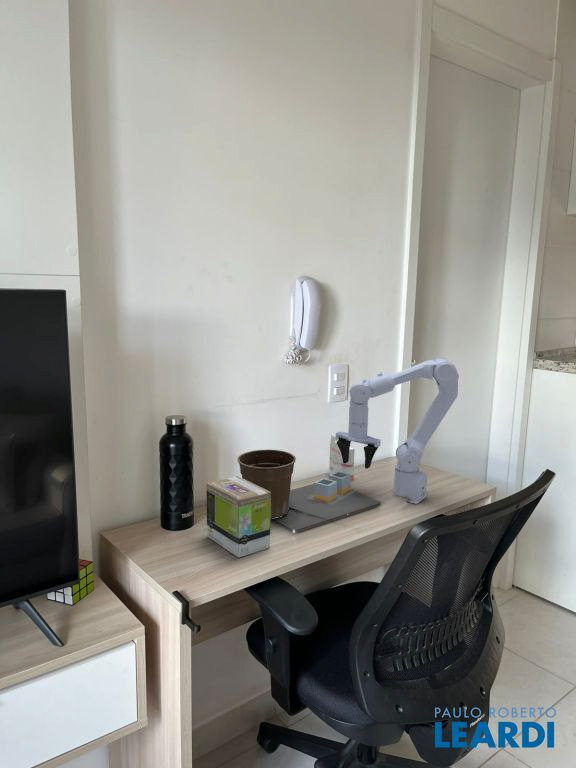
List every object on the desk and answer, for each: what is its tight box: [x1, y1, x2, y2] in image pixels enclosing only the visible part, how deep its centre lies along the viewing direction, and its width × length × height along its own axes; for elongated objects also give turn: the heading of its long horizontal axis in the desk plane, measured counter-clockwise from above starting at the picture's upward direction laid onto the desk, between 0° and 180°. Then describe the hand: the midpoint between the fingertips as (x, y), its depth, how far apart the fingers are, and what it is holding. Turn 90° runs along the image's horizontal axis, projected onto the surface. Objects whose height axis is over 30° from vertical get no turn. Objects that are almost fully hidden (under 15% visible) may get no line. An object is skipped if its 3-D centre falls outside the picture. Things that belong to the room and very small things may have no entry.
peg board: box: [306, 488, 358, 506], centre depth 175 cm, size 9×15×4 cm, turn 144°
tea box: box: [206, 475, 271, 558], centre depth 144 cm, size 15×10×15 cm, turn 38°
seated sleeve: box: [328, 471, 352, 494], centre depth 178 cm, size 5×5×5 cm
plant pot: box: [237, 449, 297, 521], centre depth 163 cm, size 16×16×16 cm
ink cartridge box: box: [328, 435, 356, 481], centre depth 190 cm, size 9×5×15 cm, turn 25°
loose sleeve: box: [313, 477, 337, 502], centre depth 172 cm, size 5×5×5 cm
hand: (356, 465), depth 177 cm, fingers open, 7 cm apart
